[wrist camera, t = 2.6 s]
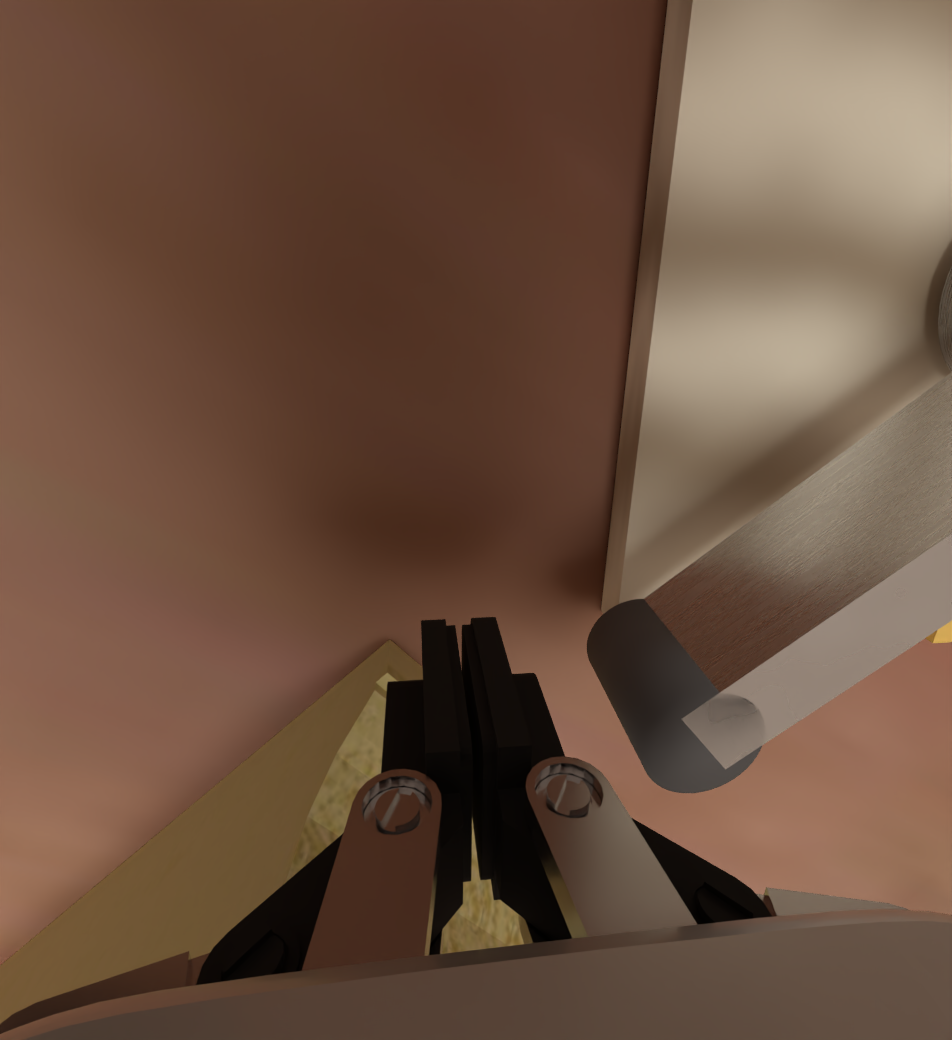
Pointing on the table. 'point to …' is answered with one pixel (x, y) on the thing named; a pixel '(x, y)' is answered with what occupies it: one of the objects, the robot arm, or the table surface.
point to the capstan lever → (790, 602)
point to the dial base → (779, 262)
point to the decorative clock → (241, 852)
